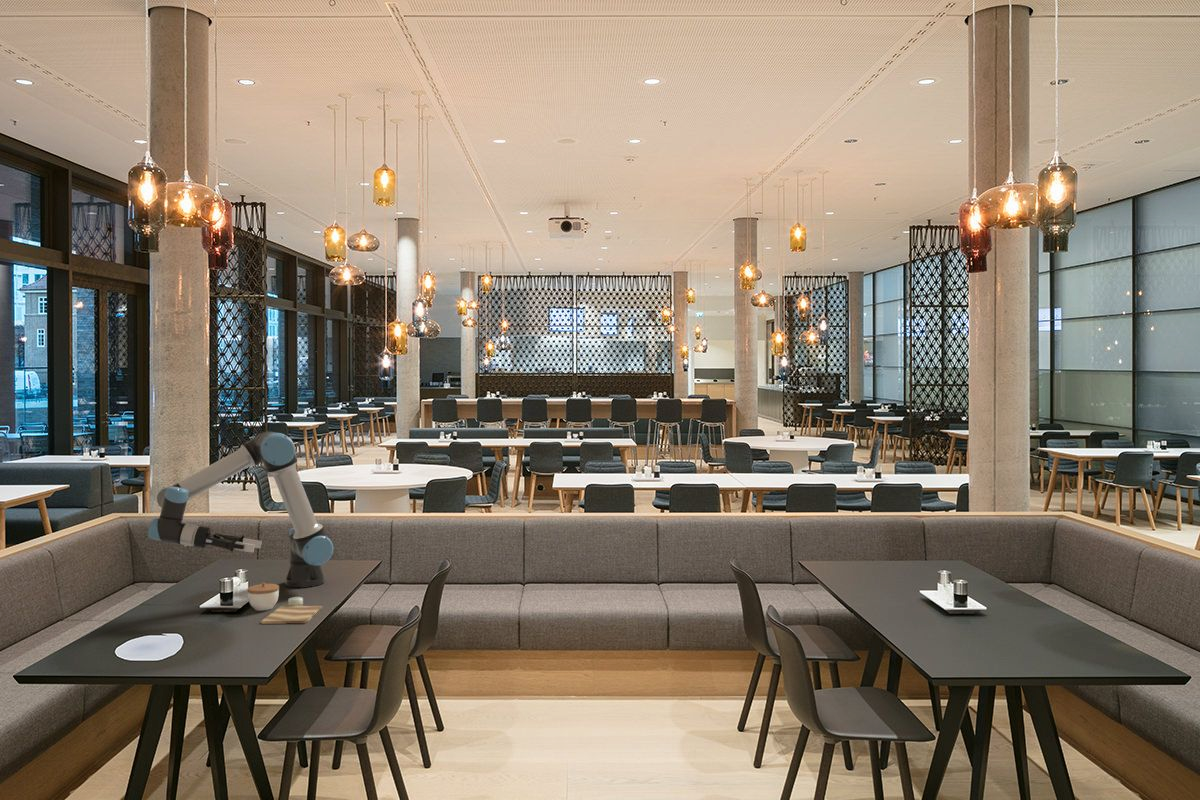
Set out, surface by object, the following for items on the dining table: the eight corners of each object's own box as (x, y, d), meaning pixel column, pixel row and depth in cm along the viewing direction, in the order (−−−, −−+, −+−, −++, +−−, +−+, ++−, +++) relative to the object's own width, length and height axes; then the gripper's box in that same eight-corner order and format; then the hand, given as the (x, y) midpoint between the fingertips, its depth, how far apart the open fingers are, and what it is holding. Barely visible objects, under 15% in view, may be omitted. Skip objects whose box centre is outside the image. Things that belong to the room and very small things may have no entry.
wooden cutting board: (280, 608, 314) (280, 606, 314) (322, 608, 314) (322, 605, 314) (261, 623, 296) (261, 620, 296) (305, 623, 296) (305, 620, 296)
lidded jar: (268, 613, 309) (268, 587, 308) (241, 611, 311) (241, 585, 310) (285, 605, 319) (284, 579, 319) (259, 603, 321) (258, 578, 321)
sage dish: (291, 604, 319) (291, 596, 319) (305, 604, 319) (304, 596, 319) (286, 608, 314) (286, 600, 314) (300, 608, 314) (300, 600, 314)
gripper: (202, 543, 323) (261, 553, 327) (184, 550, 299) (248, 561, 303) (207, 523, 324) (266, 533, 328) (189, 528, 300) (253, 539, 304)
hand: (257, 546), depth 315 cm, fingers open, 13 cm apart
